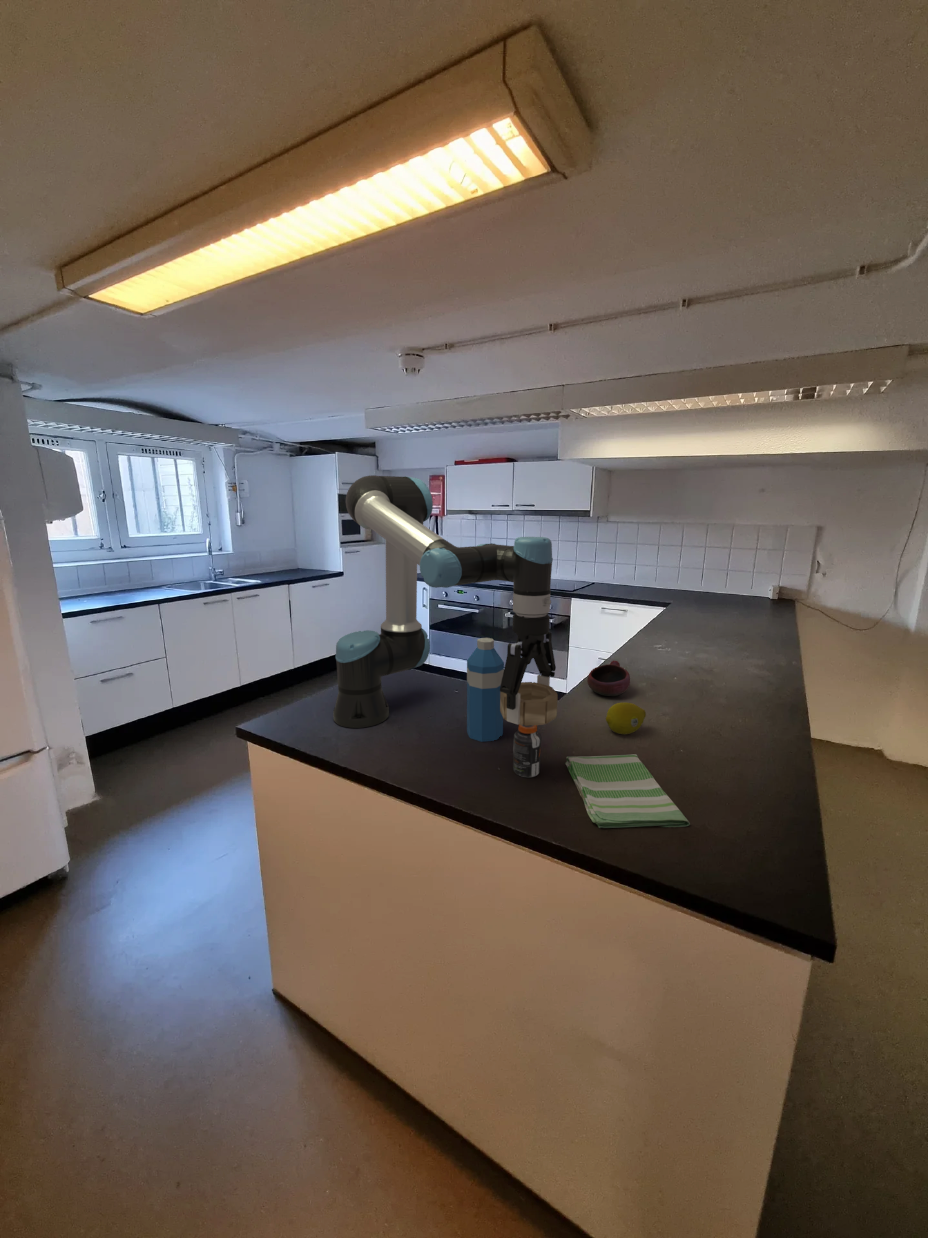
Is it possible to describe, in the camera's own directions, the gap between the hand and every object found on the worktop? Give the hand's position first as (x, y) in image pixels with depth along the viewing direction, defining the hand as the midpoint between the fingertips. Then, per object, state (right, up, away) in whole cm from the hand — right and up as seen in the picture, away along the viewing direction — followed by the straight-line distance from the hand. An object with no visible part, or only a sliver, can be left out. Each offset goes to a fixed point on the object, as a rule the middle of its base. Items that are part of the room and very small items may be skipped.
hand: (528, 712), depth 104 cm
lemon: (+28, -9, +22) cm, 36 cm away
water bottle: (-9, -10, +21) cm, 25 cm away
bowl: (+31, -3, +49) cm, 58 cm away
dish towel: (+18, -16, -4) cm, 24 cm away
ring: (0, 0, 0) cm, 0 cm away
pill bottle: (0, -14, +3) cm, 14 cm away
